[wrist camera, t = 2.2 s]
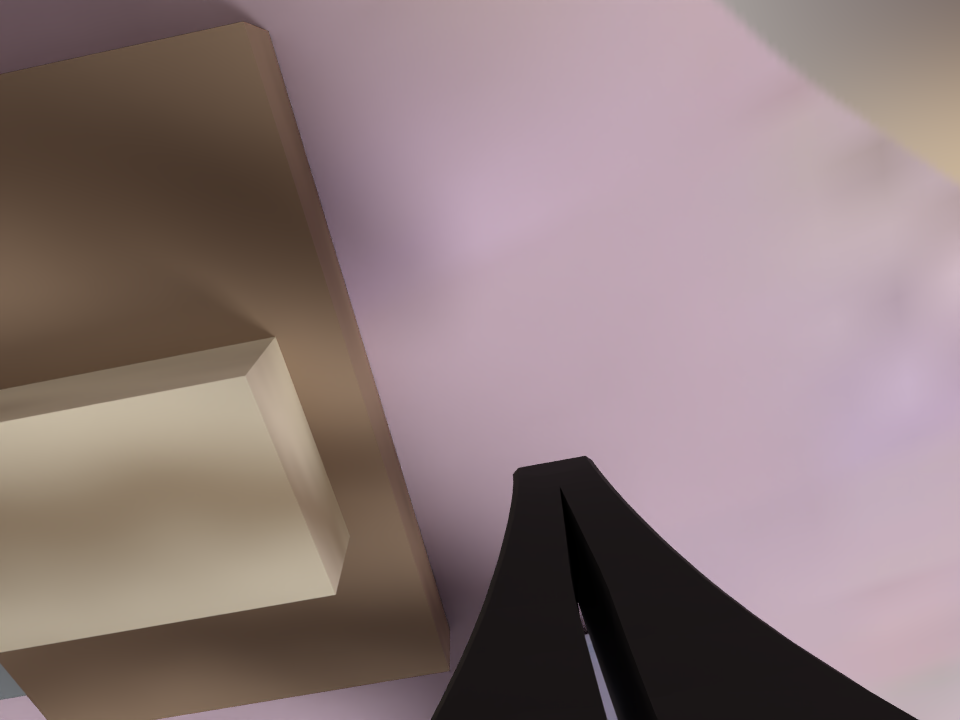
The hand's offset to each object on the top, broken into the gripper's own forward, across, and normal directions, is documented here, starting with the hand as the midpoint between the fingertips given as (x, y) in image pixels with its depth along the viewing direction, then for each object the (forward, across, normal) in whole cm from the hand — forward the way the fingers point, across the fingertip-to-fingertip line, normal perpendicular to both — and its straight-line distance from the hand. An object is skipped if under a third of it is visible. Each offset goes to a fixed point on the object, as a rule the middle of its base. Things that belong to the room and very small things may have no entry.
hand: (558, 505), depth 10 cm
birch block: (+4, +10, 0) cm, 11 cm away
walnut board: (+5, +10, 0) cm, 12 cm away
